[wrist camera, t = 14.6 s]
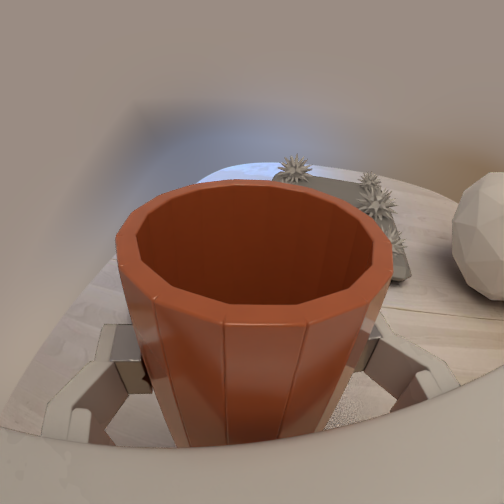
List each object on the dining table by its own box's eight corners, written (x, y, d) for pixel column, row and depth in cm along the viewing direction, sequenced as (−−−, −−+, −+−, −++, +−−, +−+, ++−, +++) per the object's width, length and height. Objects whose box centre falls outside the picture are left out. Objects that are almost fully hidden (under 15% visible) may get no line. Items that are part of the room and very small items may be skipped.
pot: (201, 507, 9) (135, 373, 4) (158, 390, 14) (112, 196, 8) (339, 451, 11) (445, 269, 6) (274, 356, 16) (299, 172, 11)
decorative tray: (408, 292, 39) (431, 227, 33) (224, 261, 43) (224, 193, 38) (380, 198, 67) (388, 157, 62) (272, 180, 72) (274, 139, 67)
